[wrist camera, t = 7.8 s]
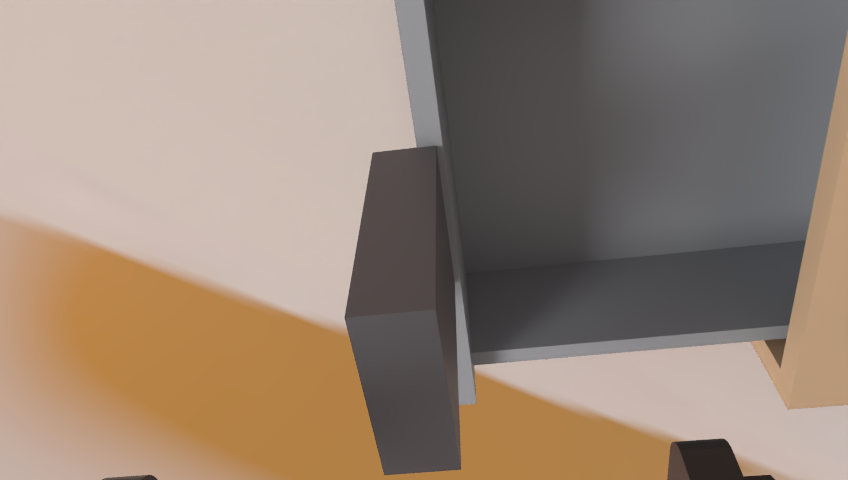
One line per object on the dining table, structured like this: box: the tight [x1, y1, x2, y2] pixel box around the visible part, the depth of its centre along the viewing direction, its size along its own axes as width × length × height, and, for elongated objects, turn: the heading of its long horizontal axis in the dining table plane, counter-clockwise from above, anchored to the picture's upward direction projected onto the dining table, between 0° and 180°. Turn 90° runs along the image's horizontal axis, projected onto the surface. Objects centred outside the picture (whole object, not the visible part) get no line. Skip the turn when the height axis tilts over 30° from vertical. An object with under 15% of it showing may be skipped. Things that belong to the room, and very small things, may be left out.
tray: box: [345, 0, 848, 475], centre depth 17 cm, size 14×13×11 cm
